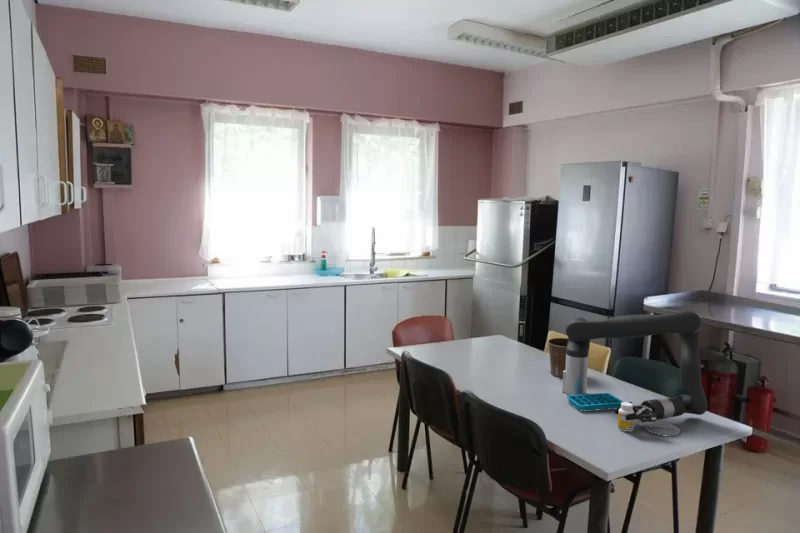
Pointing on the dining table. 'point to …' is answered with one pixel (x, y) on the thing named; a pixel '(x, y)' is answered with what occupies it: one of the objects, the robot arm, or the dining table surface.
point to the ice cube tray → (594, 401)
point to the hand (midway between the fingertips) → (620, 414)
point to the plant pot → (558, 355)
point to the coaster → (662, 428)
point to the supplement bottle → (622, 422)
